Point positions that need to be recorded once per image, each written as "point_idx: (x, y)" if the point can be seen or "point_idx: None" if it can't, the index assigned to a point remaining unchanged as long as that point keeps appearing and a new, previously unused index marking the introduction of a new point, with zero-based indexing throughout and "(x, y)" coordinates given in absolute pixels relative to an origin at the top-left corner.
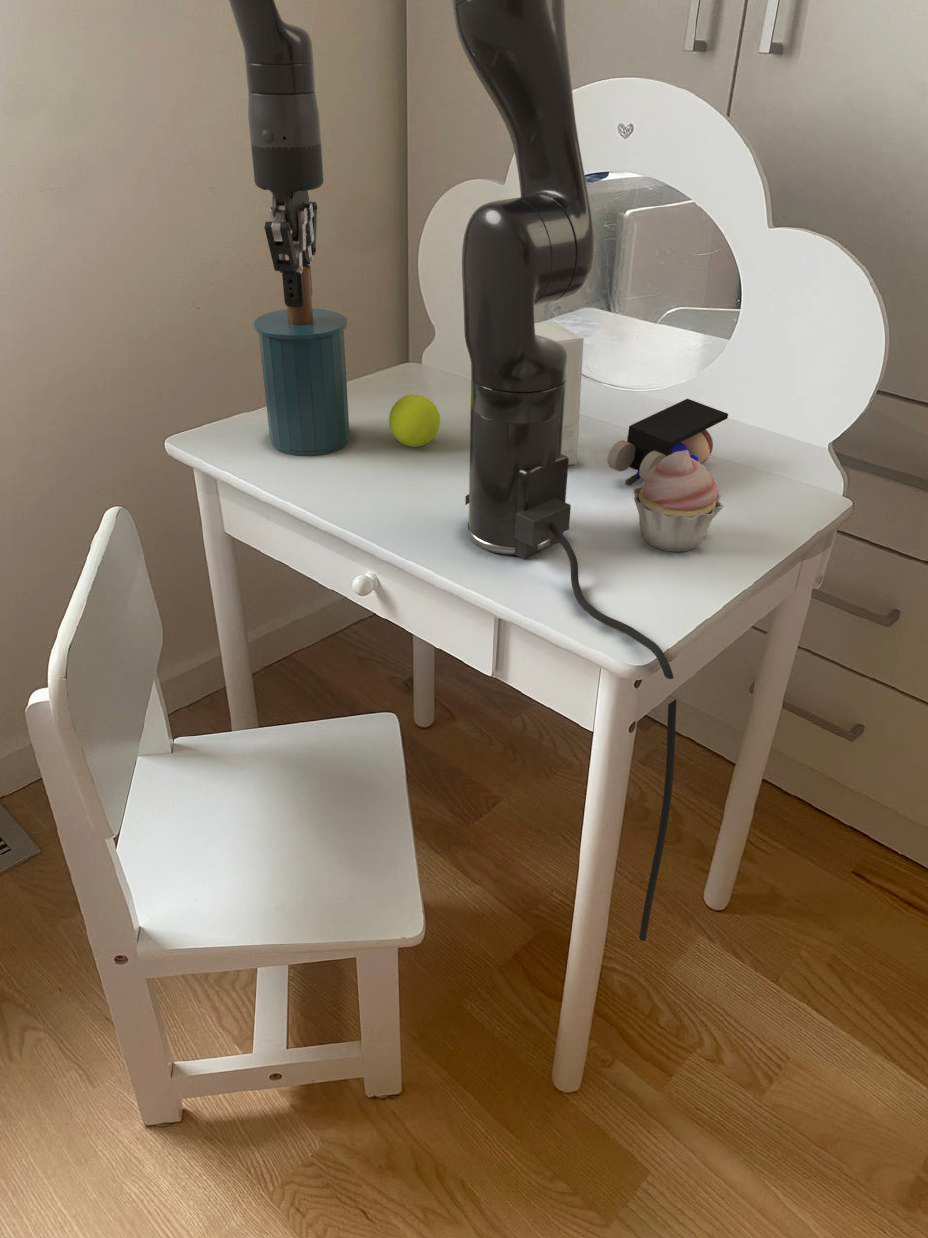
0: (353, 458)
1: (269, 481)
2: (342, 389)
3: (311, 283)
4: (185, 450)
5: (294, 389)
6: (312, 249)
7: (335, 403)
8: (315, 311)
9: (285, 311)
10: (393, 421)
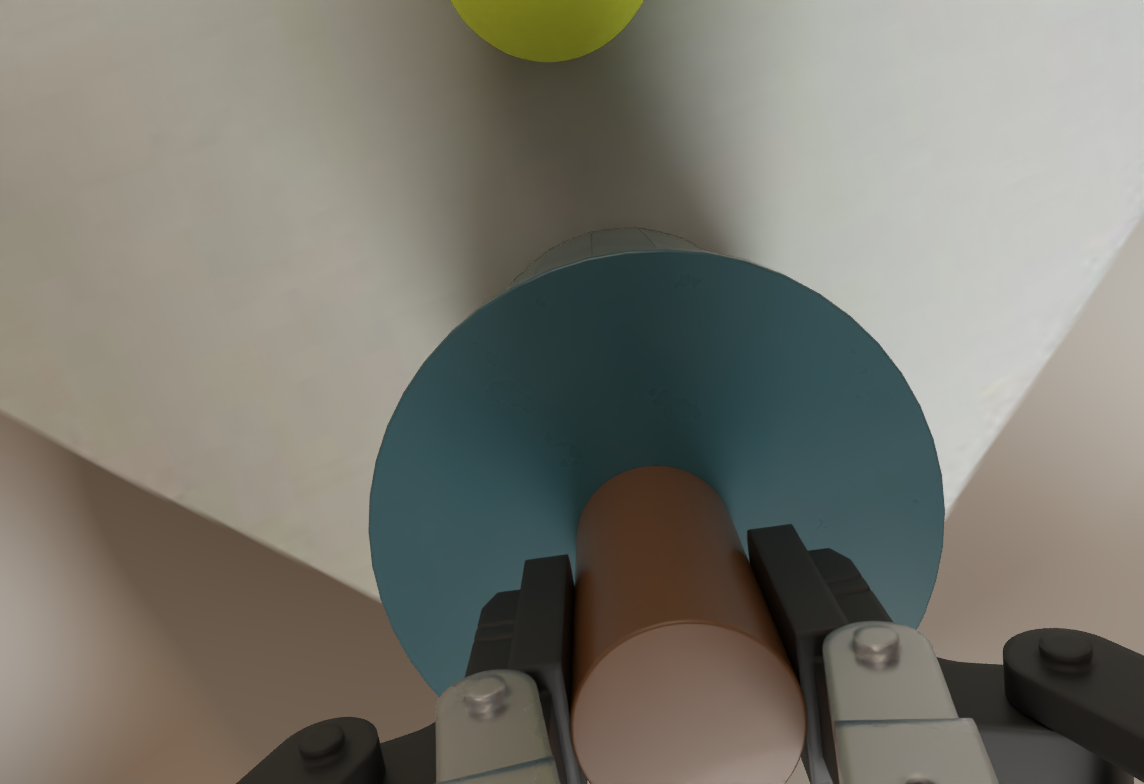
0: (737, 158)
1: (985, 364)
2: (655, 243)
3: (528, 593)
4: None
5: None
6: (372, 756)
7: None
8: (432, 532)
9: None
10: (633, 10)
